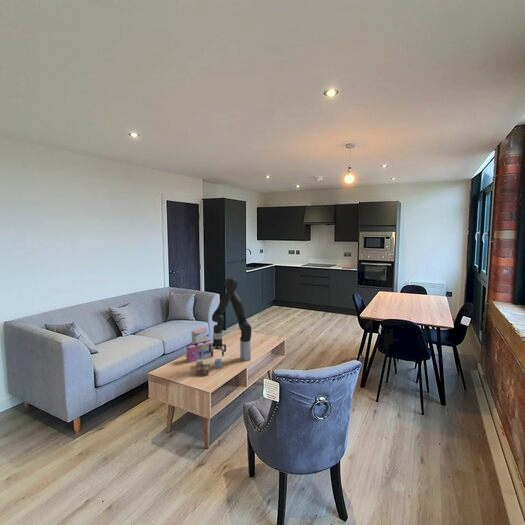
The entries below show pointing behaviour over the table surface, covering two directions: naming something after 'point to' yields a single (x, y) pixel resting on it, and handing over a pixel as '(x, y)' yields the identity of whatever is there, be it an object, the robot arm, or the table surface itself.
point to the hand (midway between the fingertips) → (217, 356)
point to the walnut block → (202, 369)
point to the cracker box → (199, 335)
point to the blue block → (218, 363)
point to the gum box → (198, 351)
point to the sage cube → (199, 362)
